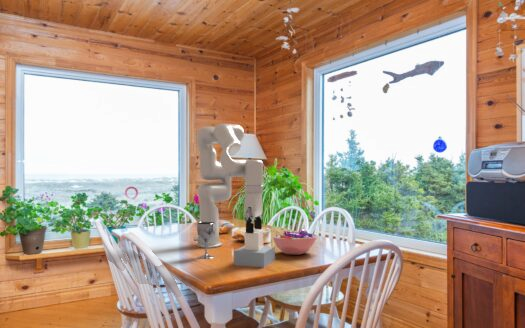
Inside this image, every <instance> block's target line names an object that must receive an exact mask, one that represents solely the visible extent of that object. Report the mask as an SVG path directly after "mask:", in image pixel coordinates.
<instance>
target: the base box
mask: <svg viewBox="0 0 525 328" xmlns="http://www.w3.org/2000/svg"><path fill="white" fill-rule="evenodd" d="M275 260H276V246H272V245H271V246H270V245H263V248H262V249H260V250H259V251H256V250H245V245H243V246H241V247H239V248H237V249H234V250H233V265H234V266H242V267H255V268H263V269H264V268H266V267H267V266H269V265H270V264H272V263H273V262H275Z"/></svg>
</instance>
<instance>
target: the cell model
mask: <svg viewBox="0 0 525 328" xmlns="http://www.w3.org/2000/svg"><path fill="white" fill-rule="evenodd" d="M317 238H318V236H317V235H316V234H313V233H309V232H308V231H307V230H306V229H305V228H301V229H300V231H299V232H298V231H297V232H295V231H292V232H291V231H288V230H287V231H286V230H284V231H283V233H282V232H280V233H276V234H273V236H272V239H273V242H274V245H275V247H276V248H277V249H278V250H279V251H281V253H284V254H286V255H294V256H295V255H303V254H306V253H308V252H309V251H310V250H311V249H312V247H313V246H314V244H315V242H316V240H317Z"/></svg>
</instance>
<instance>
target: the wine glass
mask: <svg viewBox="0 0 525 328" xmlns="http://www.w3.org/2000/svg"><path fill="white" fill-rule="evenodd" d="M214 230H215V222H200V221H198V222H196V232H197V237H200V239H201V240H202V241H203V242H204V245H205V248H204V254H202V255H198V256H197V258H198V259H201V260H206V259H208V260H209V259H214V258H215V255H214V254H213V255H212V254H208V248H207V244H208V242H209V240H210V239H211V238H212V237H213V235H214Z"/></svg>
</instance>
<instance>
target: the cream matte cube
mask: <svg viewBox="0 0 525 328" xmlns="http://www.w3.org/2000/svg"><path fill="white" fill-rule="evenodd" d="M244 246H245V250H256V251H259V250H260V249H262V248H263V246H264V230H256V229H254V233H246V231H245V232H244Z"/></svg>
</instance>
